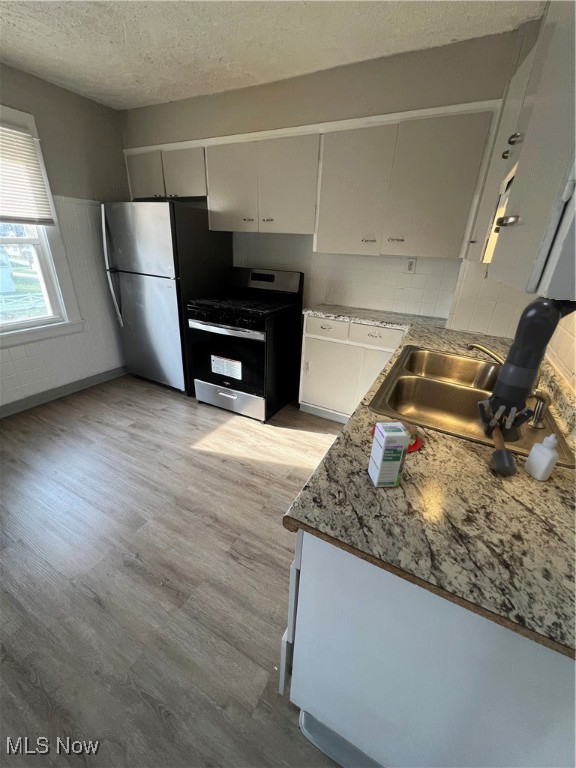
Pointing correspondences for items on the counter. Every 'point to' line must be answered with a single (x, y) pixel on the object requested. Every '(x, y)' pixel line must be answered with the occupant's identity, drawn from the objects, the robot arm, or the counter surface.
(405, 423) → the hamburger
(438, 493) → the counter surface
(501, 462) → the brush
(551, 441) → the eye dropper bottle
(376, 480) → the syrup box
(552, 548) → the counter surface
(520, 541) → the counter surface
